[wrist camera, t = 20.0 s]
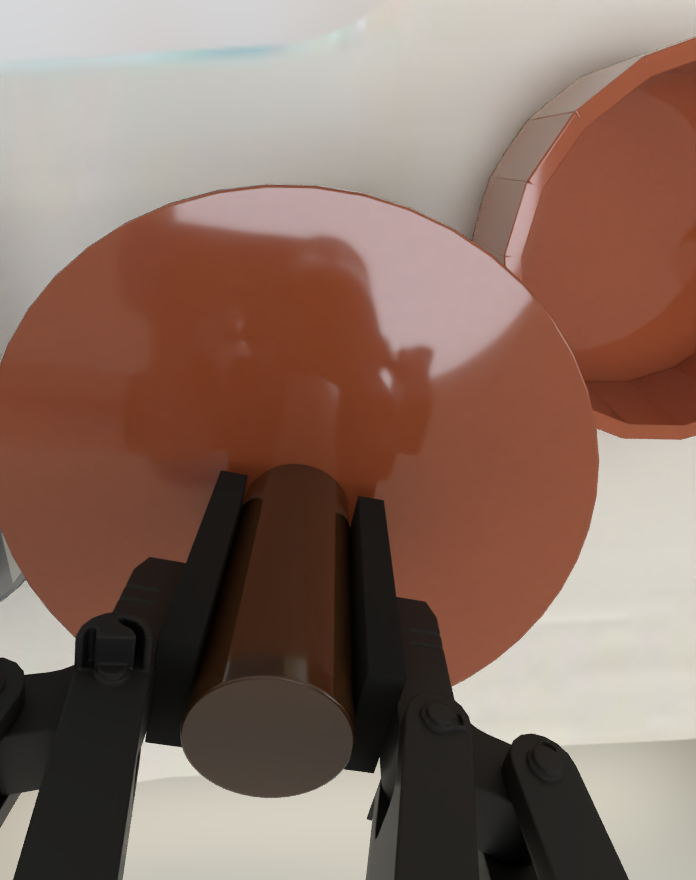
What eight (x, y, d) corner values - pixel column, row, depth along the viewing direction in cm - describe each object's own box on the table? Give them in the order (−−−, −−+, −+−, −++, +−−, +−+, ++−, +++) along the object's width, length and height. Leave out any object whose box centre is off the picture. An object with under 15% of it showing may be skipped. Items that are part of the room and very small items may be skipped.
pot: (435, 363, 35) (457, 407, 29) (534, 12, 28) (591, -29, 22) (704, 416, 37) (778, 468, 31) (861, 99, 30) (999, 84, 24)
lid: (9, 656, 22) (-189, 957, 14) (-2, 105, 15) (-450, 34, 6) (482, 726, 24) (558, 1028, 16) (685, 267, 17) (1036, 379, 8)
